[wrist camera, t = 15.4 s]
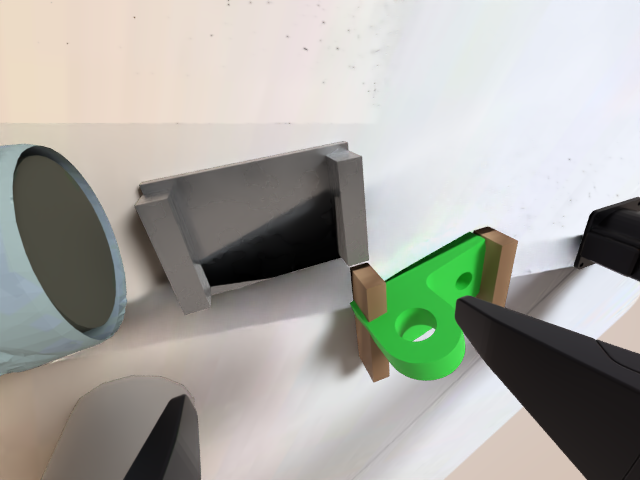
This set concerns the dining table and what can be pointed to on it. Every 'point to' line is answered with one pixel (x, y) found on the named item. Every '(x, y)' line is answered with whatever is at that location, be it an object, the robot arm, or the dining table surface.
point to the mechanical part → (428, 309)
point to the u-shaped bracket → (255, 220)
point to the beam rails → (374, 301)
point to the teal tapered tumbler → (53, 261)
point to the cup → (110, 428)
